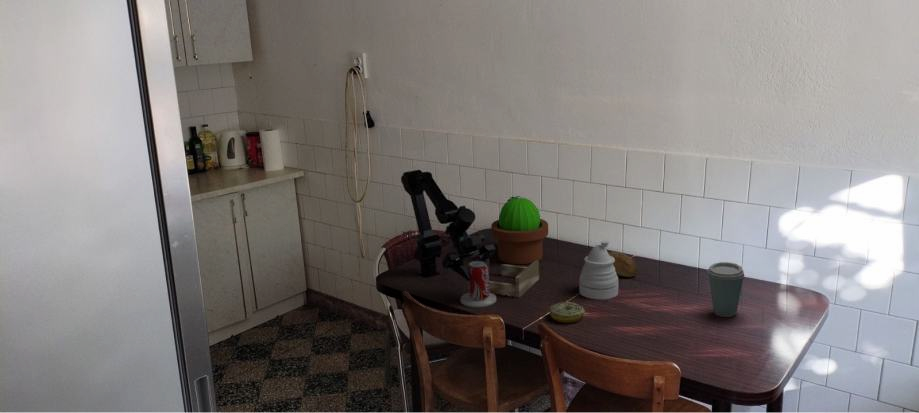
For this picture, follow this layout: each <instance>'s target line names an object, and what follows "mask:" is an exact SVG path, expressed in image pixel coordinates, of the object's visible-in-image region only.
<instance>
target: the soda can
mask: <svg viewBox="0 0 919 413" xmlns="http://www.w3.org/2000/svg"><path fill="white" fill-rule="evenodd" d="M467 273H468V274H469V277H470V281H467V283H468V284H467V285H468V293H469V296H470V297H471V298H472V299H474V300H484V299H486V298H487V297H488V296H489V294H490V286H489V281H490V275H489V271H488V267H487V265H486V262H484V261H479V260H475V261H474V260H473V261H471V262H469V264H468V267H467Z"/></svg>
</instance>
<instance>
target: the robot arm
mask: <svg viewBox="0 0 919 413" xmlns="http://www.w3.org/2000/svg"><path fill="white" fill-rule="evenodd" d="M400 181H401V184H402V186H403V189H404V191H405V192H406V193H407V194H408V195H409V197H410V199H411V203H412V209H413V212H414V217H415V221H416V226H417V230H418V238H417V240H416V245H417V246H416V249H415V250H414V252H413V258H414V260H416V261H418V262H419V267H420V268H419V270H418V271H417V272H416V274H417V275H420V276H422V277H424V278H430V277H432V276H436V275H440V274H441V272H440V271H438V270H437V260H436V259H437V258H441V254H442V249H443V245H442V243H441V240H440V235H439V234H438V233H437V234H436V233H435V232H434V231H433V228H432V227H433V226H432V224H431V219H430V215H429V211H428V206H427V203H426V198H425V195H424V194H426V195H427V197H428V199H429V200H430V201H431V204H433V206H434V208H435V209H434V214H435V217H436V219H437V221H438V222H439V224H441V225H445V224H448V225H447V226H445V231H444V234H445V235H448V236H449V237H450V239H451V242H452V243H453V245H452V248H453V249H456V251H454V252H450V253H446V255H445V256H444V258H443V260H442V261H441V265H442V268H443V269H444V270H446V269H449V270H450V271H453V272H455V273H457V274H459V275H460V276H461V277H462V278H464V279H465V280H466V281H467V282H468V281H470V277H469V274H468V270H467V269H466V267H465V265H464V261H465V260H469V259H472V258H476V257H478V258H479V260H478V261H484V262H486V265H487V267H488V271H489V276H491V268H490V266H491V265H490V258H491V256H492V255H493V253H495V252H496V249H497V248H496V247H495V244H493V243H487V244H483V242H486V237H485V234H484V232H483V231H481V232H477V233H475V235H474V236H472V235H471V234H468V232H467V231H468V230H469V228H470V227H471V226H472V224H473V223H474V222H475V220H476V213H475V212H474V211H473V210H472V209H471V208H467V207H466V206H465V205H460V206H459V207H458V206H457V205H456V203H455V202H453V201H452V200H450V199H448V198H447V197H446V196H445V194H444V193H443V191H442V190H441V187H440V186H439V185H438V184H437V182H436V181H435V179H434V178H433V174H432V172H430V171H422V170H421V169H415V170H410V171H409V170H408V171H405V172H403V173H402V175H401V177H400ZM479 246H481V247H480V248H478V247H479ZM477 249H478V250H477Z"/></svg>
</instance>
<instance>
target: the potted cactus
mask: <svg viewBox="0 0 919 413" xmlns="http://www.w3.org/2000/svg"><path fill="white" fill-rule="evenodd" d="M541 217H542V216H541V215H540V211H539V209H538V206H536V205H535V202H534V201H531V199H528V198H527V197H523V196H520V195H515V196H511V197H509V199H507V201H506V202H505V203H504V204H503V205H502V207H500V212H499V215H498V219H497V220H495V221H493V222H492V223H491V226H490V227H491V228H490V230H491V236H492V237H493V238H494V239H496V240H497V257H498V259H499V261H501V262H502V263H505V264H508V265H527V264H529V265H531V264H532V263H533V262H534V261H535V260H538V261H539V262H540V261H541V260H542V259H543V257H544V256H543V255H544V254H543V252H544V251H543V248H544V247H543V246H544V245H543V239H545V238H546V237H548V235H549V223H548V221H546V220H545V219H543V218H541Z"/></svg>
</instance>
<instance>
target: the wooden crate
mask: <svg viewBox="0 0 919 413" xmlns="http://www.w3.org/2000/svg"><path fill="white" fill-rule="evenodd" d="M539 266H540V260H539V261H538V260H535V261H534V262H533V263H530V264H529V265H528V266H521V265H516V264H508V263H505V264H504V263H502V264H501V265H500V270H501V272H500V274H501V276H502V277H505V276H506V277H512V278H515V284H513V283H507V282H501V281H500V282H499V281H493V280H492V281H491V280H489V286H490V293H492V294H494V295H498V294H500V296H505V295H507V297H512V296H513V298H520V297H522V296H523V295H524V294H525V293H526V292H527V291H528V290H529V289H530V288H531V287H533V285H534V284H535V283H537V281H539V279H540V267H539Z"/></svg>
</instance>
